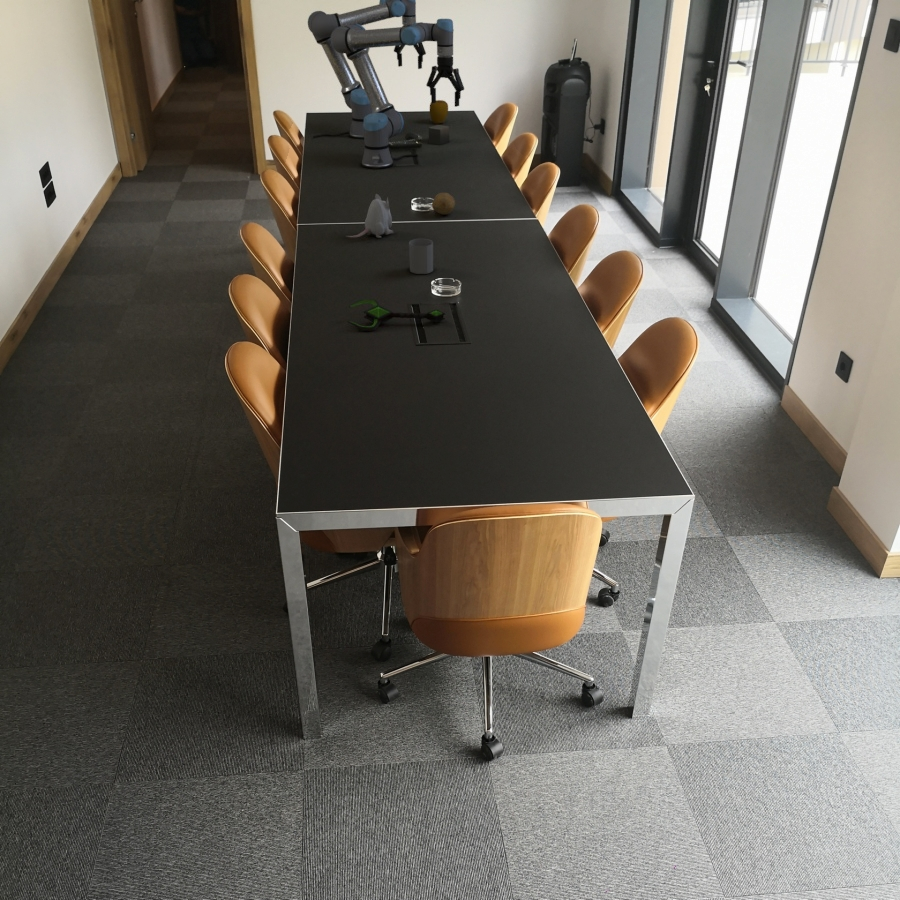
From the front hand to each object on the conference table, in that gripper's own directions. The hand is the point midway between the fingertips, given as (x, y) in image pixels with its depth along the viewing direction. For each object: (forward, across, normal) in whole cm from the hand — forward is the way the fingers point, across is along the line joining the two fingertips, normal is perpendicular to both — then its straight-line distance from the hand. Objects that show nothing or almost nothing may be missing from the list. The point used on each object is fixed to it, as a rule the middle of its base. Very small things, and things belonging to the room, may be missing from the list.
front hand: (445, 104), depth 413 cm
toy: (+28, +39, -106) cm, 116 cm away
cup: (+28, +76, -121) cm, 146 cm away
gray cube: (+28, -30, +36) cm, 54 cm away
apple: (+28, -56, +73) cm, 97 cm away
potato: (+28, +44, -64) cm, 83 cm away
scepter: (+28, +96, -162) cm, 191 cm away
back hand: (-3, -64, +57) cm, 86 cm away
